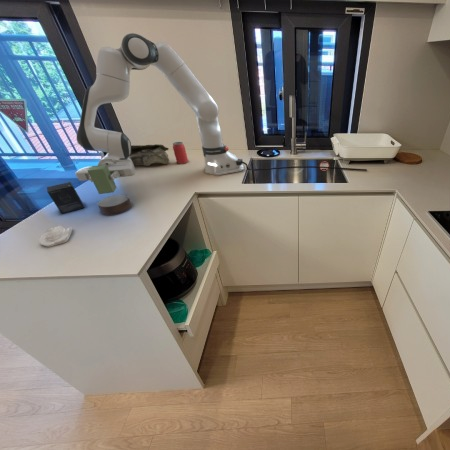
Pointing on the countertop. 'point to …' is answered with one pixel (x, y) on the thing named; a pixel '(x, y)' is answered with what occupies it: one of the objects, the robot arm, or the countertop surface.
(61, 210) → the box
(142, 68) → the robot arm
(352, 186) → the countertop surface
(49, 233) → the white flat lumpy piece
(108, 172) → the block
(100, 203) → the cylinder
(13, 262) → the countertop surface
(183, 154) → the beer can
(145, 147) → the hollow geode rock
